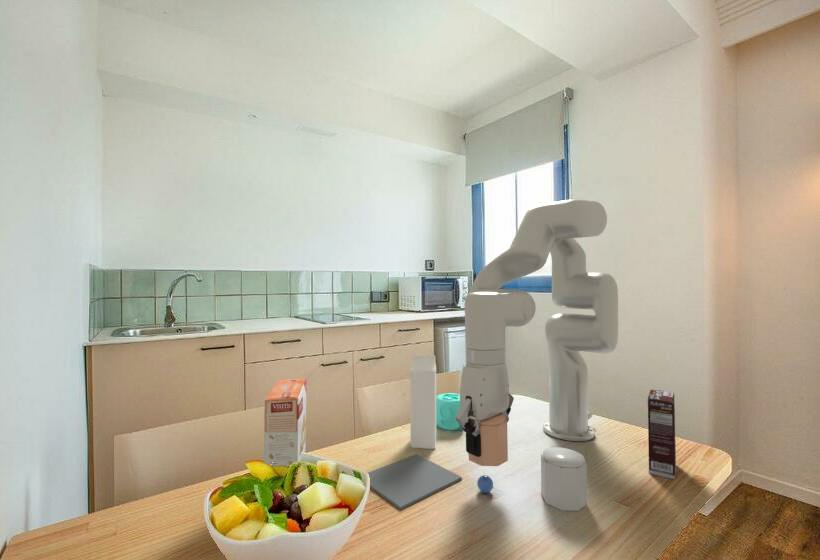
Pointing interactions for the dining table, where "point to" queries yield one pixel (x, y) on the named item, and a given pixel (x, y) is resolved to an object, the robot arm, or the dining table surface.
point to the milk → (423, 401)
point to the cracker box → (285, 422)
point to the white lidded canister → (564, 479)
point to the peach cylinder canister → (492, 441)
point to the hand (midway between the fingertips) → (487, 446)
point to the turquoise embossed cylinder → (447, 411)
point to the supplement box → (661, 433)
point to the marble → (485, 483)
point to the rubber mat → (410, 480)
